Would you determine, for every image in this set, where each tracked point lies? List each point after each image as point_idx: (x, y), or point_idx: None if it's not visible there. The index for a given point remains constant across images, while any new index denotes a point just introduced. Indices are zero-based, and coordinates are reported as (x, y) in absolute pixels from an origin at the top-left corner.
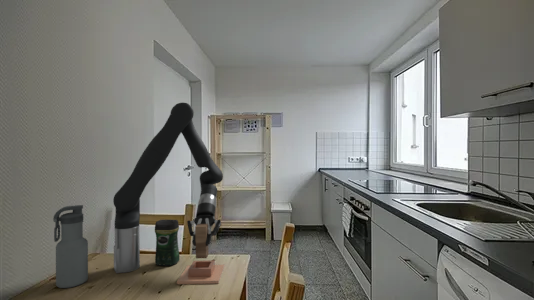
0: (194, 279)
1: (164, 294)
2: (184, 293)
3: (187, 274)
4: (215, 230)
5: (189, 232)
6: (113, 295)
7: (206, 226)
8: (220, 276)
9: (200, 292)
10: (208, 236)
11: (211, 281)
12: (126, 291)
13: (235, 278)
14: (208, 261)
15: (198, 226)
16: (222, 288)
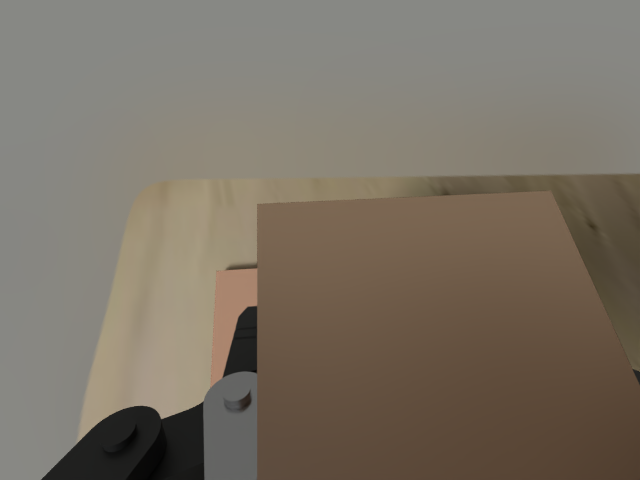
0: None
1: (418, 182)
2: (345, 190)
3: None
4: (71, 459)
5: (636, 372)
6: (596, 174)
7: (261, 303)
8: (214, 335)
9: (285, 198)
10: (255, 358)
11: (253, 270)
12: (577, 200)
13: (133, 336)
14: None
15: (474, 209)
16: (197, 230)
